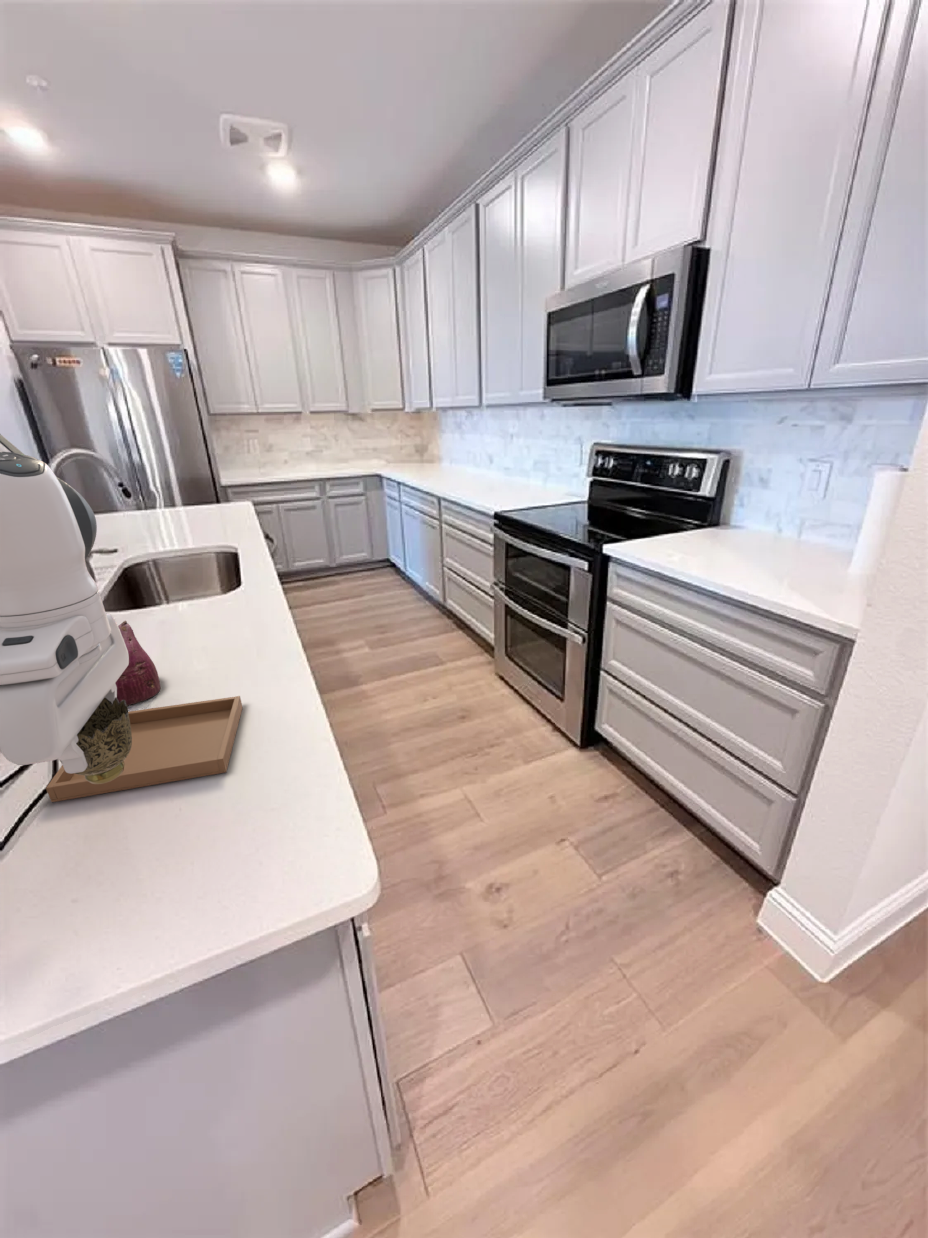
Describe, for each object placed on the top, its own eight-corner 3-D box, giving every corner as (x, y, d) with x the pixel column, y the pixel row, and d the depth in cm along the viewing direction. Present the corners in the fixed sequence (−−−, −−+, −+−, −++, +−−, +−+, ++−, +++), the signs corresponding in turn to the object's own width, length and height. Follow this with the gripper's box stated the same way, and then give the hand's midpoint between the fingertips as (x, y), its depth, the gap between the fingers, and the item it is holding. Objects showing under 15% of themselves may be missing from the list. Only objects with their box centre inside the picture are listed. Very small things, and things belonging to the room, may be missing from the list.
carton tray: (51, 802, 67) (45, 788, 66) (101, 728, 83) (97, 715, 82) (226, 772, 72) (222, 758, 71) (242, 707, 88) (240, 695, 87)
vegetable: (147, 690, 100) (144, 615, 98) (172, 699, 94) (168, 619, 92) (84, 701, 92) (79, 619, 90) (106, 712, 86) (101, 624, 84)
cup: (134, 791, 54) (113, 728, 51) (53, 806, 52) (27, 741, 49) (152, 749, 61) (135, 691, 58) (81, 761, 59) (59, 702, 56)
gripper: (63, 595, 58) (99, 699, 63) (-53, 681, 40) (11, 817, 45) (125, 589, 59) (155, 692, 65) (40, 669, 41) (91, 803, 46)
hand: (95, 744), depth 55 cm, fingers closed on cup, 7 cm apart
